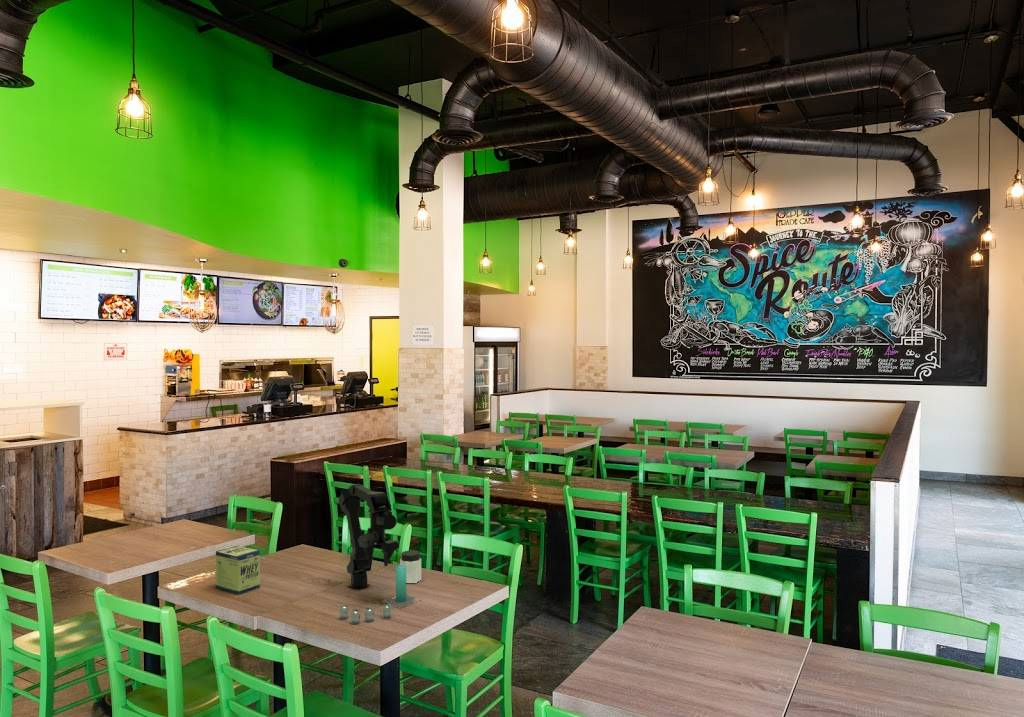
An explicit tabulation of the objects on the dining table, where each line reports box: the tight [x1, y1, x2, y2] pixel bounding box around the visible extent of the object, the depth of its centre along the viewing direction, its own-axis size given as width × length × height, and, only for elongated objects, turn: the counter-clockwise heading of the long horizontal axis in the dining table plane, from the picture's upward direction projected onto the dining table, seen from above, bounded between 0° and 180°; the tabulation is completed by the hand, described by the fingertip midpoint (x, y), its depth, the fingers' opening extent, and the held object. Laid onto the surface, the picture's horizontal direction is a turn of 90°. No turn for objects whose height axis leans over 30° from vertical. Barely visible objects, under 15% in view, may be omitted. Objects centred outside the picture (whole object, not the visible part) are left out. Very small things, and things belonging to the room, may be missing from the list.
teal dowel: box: [395, 565, 407, 602], centre depth 274 cm, size 4×4×13 cm
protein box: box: [215, 545, 261, 595], centre depth 290 cm, size 10×16×16 cm
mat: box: [381, 594, 416, 608], centre depth 274 cm, size 11×11×1 cm
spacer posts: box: [339, 604, 392, 625], centre depth 257 cm, size 15×14×4 cm
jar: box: [399, 549, 422, 584], centre depth 299 cm, size 9×8×12 cm
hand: (377, 564), depth 279 cm, fingers open, 9 cm apart
